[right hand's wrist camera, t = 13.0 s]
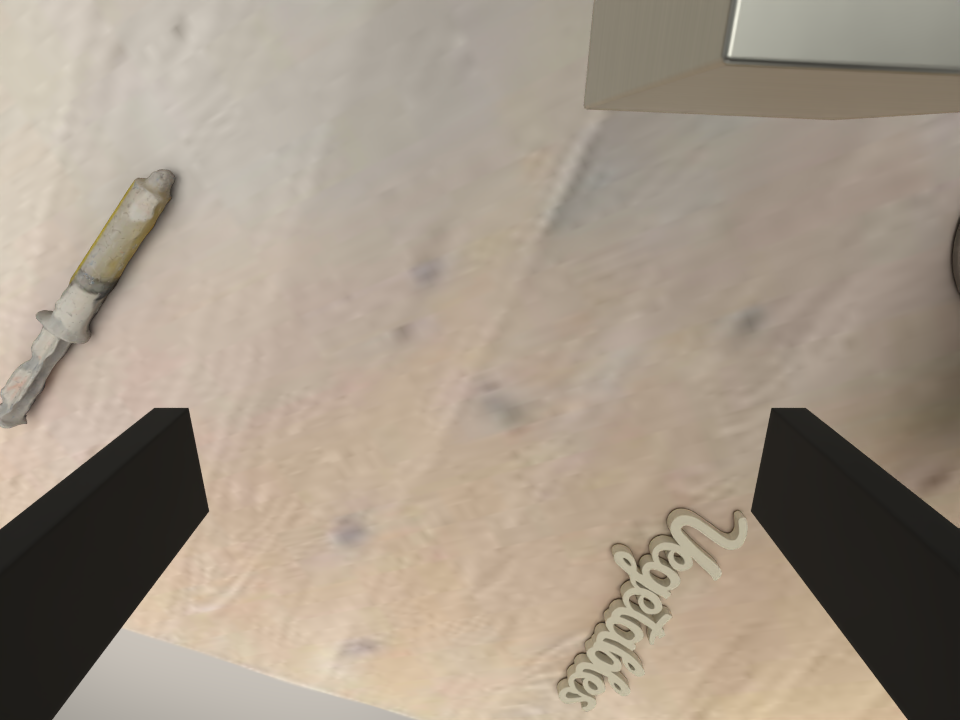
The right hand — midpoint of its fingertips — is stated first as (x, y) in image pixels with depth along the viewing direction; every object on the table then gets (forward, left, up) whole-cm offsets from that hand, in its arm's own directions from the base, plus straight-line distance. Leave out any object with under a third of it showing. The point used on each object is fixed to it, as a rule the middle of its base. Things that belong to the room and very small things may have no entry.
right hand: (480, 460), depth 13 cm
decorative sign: (-34, -15, -31) cm, 48 cm away
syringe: (-4, +30, -31) cm, 43 cm away
